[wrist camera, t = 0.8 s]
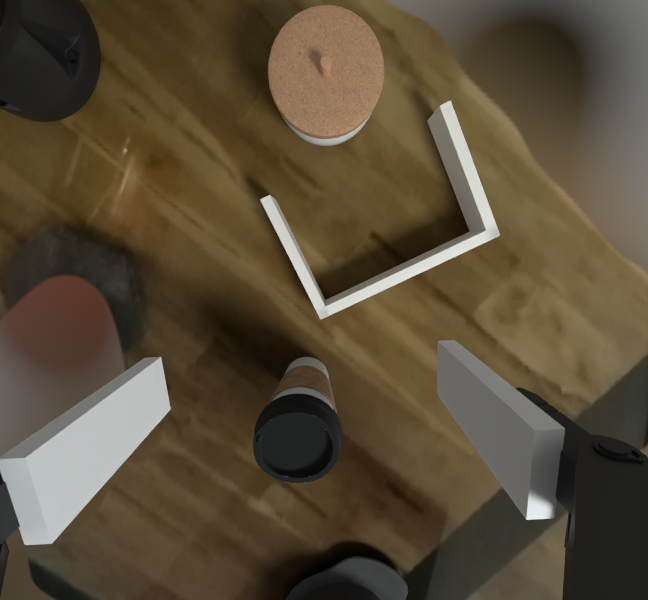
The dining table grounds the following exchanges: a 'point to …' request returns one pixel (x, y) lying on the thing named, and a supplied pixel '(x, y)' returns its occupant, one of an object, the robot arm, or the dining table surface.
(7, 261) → the dining table surface
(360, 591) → the casserole
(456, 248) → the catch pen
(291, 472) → the coffee cup
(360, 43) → the lidded jar
